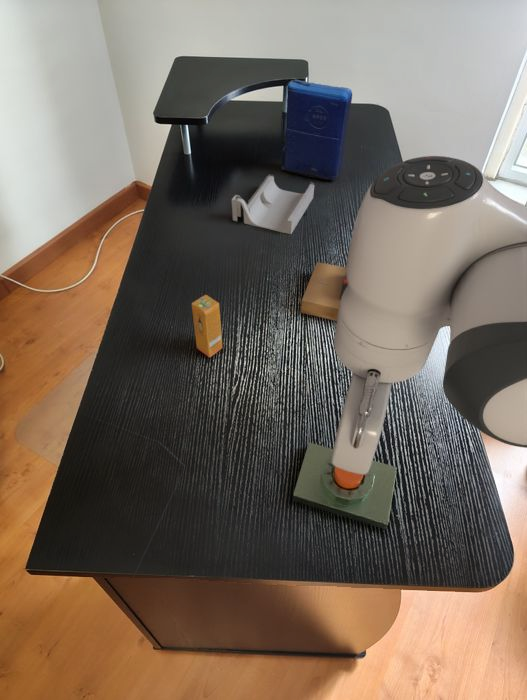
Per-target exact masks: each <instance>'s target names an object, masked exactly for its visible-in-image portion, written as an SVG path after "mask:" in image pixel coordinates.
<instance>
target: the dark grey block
mask: <svg viewBox="0 0 527 700" xmlns="http://www.w3.org/2000/svg"><path fill="white" fill-rule="evenodd" d="M347 286H348V281H347V276H346V275H345V278H344V281H343V284H342V289H341V295H340V299H341V298H342V295H343V293H344V291H345V289H346V288H347Z"/></svg>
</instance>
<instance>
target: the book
mask: <svg viewBox="0 0 527 700" xmlns="http://www.w3.org/2000/svg"><path fill="white" fill-rule="evenodd" d="M286 92H287V93H286V94H287V95H286V115H285V118H286V119H285V134H284V135H285V136H284V137H285V144H284V146H283V149H282V154H281V170H283V171H285V172H288V173H293V174H297V175H300V176H304V177H307V178H308V177H309V178H315V179H320V180H325V181H337V180H338V178H339V177H340V176H341V173H342V168H343V163H344V157H345V155H344V154H345V149H346V141H347V133H348V127H349V121H350V113H351V107H352V100H353V91H352V89H351V88H348V87H344V86H333V85H328V84H321V83H314V82H309V81H306V80H305V81H304V80H299V79H293V80H290V81H289V82H288V83H287V85H286Z"/></svg>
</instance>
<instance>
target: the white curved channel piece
mask: <svg viewBox="0 0 527 700" xmlns="http://www.w3.org/2000/svg"><path fill="white" fill-rule="evenodd" d="M314 195H315V184H313V182H312V181H310V184H309V185H308V188H306V190H305V191H304V192H303V193H298V192H296V191H295V192H294V191H289V190H285V189H282V188H279V186H278V185H277V184H276V182H275V176H274V175H267V176H266V177H265V180H263V182H262V184H260V185H259V188H258V189H256V192H254V193H253V194H252V196H251V197H250V200H248V202H246V201H245V200H244V199H243V198H242V197H241V195H238V194H235V195H234V196H233V197H232V198H231V211H232V221H234V222H238V217H239V218H241V216H242V214H241V213H242V212H241V207H242V210H243V224H246V225H249V226H252V227H259V228H263V229H267V230H271V231H275V232H279V233H284V234H287V235H292V234H293V232H294V231H295V229H296V227H297V225H298V224H299V223H300V221H301V219H302V217H303V215H304V214H305V212H306V210H307V209H308V207H309V205H310V204H311V202H312V201H313V199H314Z"/></svg>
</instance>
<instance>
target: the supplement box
mask: <svg viewBox="0 0 527 700" xmlns="http://www.w3.org/2000/svg"><path fill="white" fill-rule="evenodd" d="M220 309H221V308H220V302H219V301H216V300H215V299H213V298H212V297H210V296H209V295H207V294H204V295H203V296H201V297H199V298H198V299H196V300H194V301H192V302H191V311H192V318H193V326H194V327H193V329H194V336H195V346H196V349H197V350H198V351H200V352H201V353H203V354H204V355H206V357H208V358H211V357H213V356H214V355H215V354H217V353H218V352H219V351H220V350H222V349H223V348H224V347H223V336H222V323H221V312H220Z"/></svg>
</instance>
